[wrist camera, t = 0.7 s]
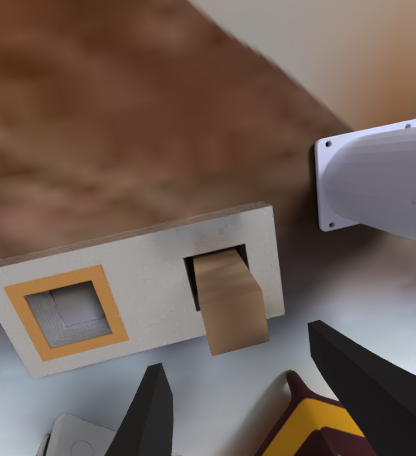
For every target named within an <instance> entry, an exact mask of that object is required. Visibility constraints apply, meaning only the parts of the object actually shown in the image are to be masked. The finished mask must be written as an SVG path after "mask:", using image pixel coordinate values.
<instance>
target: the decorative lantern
mask: <svg viewBox="0 0 416 456" xmlns="http://www.w3.org/2000/svg"><path fill="white" fill-rule="evenodd" d="M286 377H287V381H288V384H289V388H290V391H291V396H292V397H291V402H290V405H289V407H288V409H287V410H286V411H285V413H284V414H283V416H282V417H281V418H280V420H279V421H278V423H277V424H276V425H275V427H274V428H273V430H272V431H271V432H270V434H269V435H268V437H267V438H266V439H265V441H264V442H263V444H262V445H261V447H260V448H259V449H258V451H257V452H256V454H255V455H254V456H377V455H376V453H375V451H374V450H373V448H372V447H371V445H370V444H369V442H368V441H367V439H366V438H365V436H364V435H363V433H362V432H361V430H360V429H359V427H358V426H357V425H356V423H355V422H354V420H353V419H352V418H351V416H350V415H349V413H348V412H347V411H346V409H345V408H344V406H343V405H342V404H341V402H339V401H336V400H333V399H330V398H326V397H323V396H320V395H318V394H316V393H314V392H313V391H311V390H310V389H309V388H308V387H307V386H306V385H305V383H304V382H303V381H302V379H301V378H300V376H299V375H298V374H297V373H296V372H295V371H292V370H289V371H288V372H287V374H286Z"/></svg>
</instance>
